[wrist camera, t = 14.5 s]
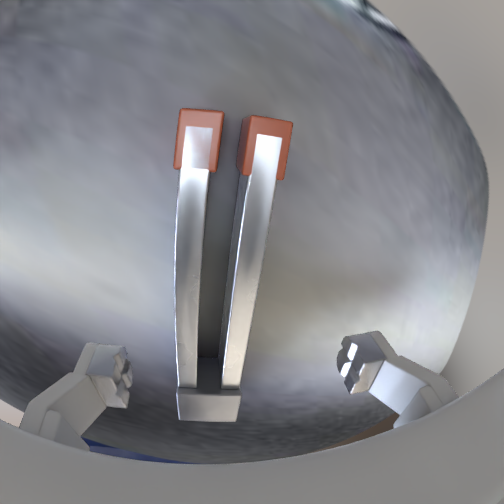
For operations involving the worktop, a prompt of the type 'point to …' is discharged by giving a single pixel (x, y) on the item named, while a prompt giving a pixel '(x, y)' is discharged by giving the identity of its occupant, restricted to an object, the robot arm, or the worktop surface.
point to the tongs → (240, 259)
